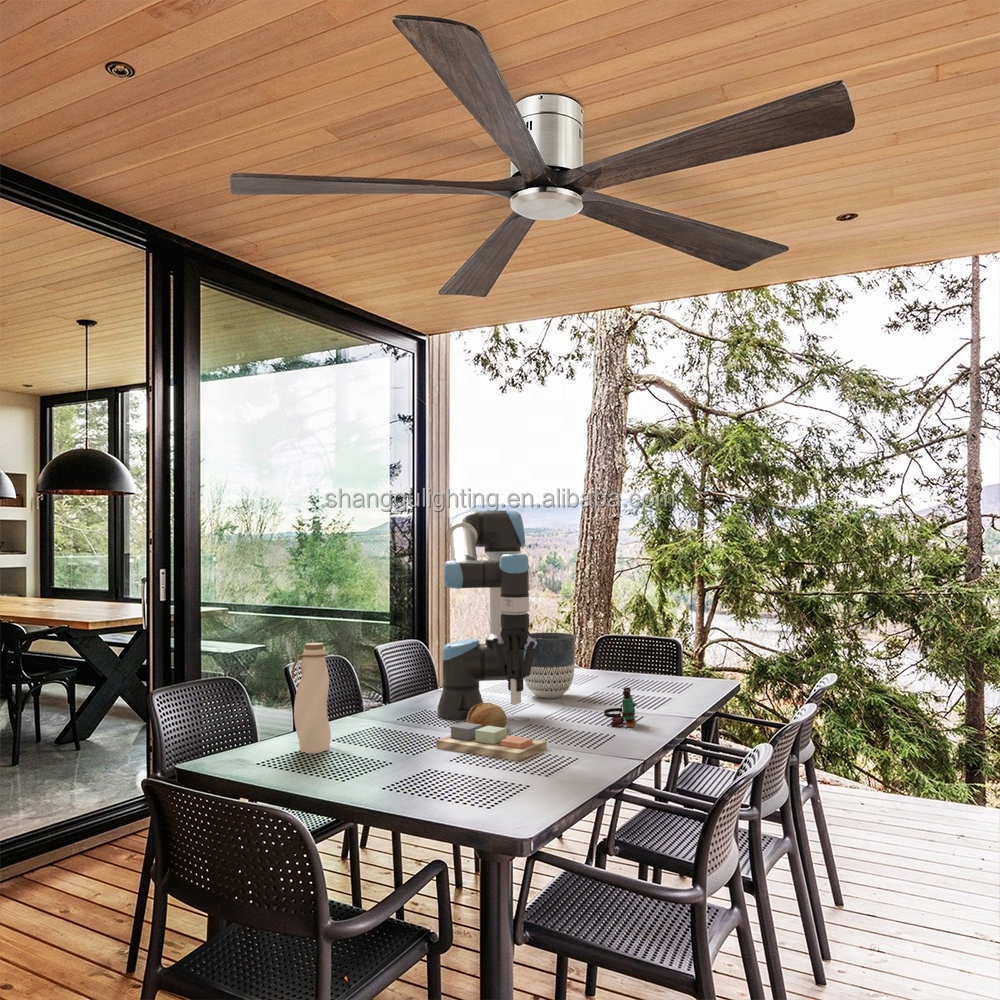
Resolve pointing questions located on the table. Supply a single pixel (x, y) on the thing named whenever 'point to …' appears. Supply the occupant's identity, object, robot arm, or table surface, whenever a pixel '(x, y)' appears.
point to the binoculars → (627, 711)
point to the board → (491, 748)
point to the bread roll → (487, 715)
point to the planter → (552, 664)
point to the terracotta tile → (516, 742)
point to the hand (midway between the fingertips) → (515, 703)
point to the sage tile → (490, 734)
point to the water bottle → (312, 700)
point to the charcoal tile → (464, 731)
